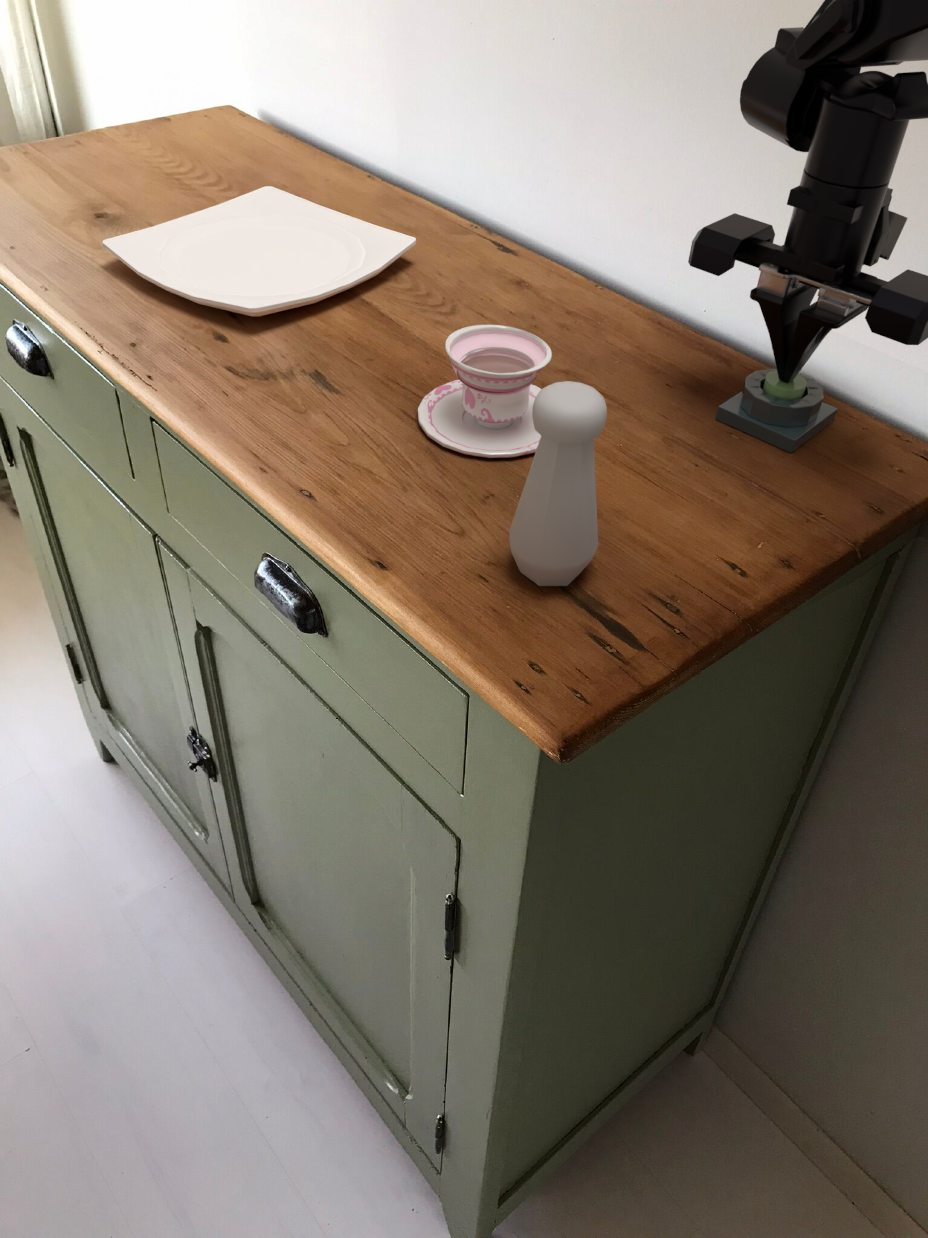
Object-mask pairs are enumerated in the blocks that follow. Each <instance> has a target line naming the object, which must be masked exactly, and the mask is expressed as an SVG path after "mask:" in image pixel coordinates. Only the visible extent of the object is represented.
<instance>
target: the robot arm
mask: <svg viewBox="0 0 928 1238" xmlns="http://www.w3.org/2000/svg"><path fill="white" fill-rule="evenodd" d="M919 61H928V0H823V2H822V3H821V5H820V6H819V8H818V9H817V10H816V11H815V13H814V14H813V16H812V17H811V19H810V20H809V22H808V23H807V24H806V25H805V27H804V26H803V27H801V26H800V27H780V28H779V29H778V30H777V34H776V38H775V42H774V46H773V47H771V48H770V49H769V50H767V51H766V52H764V53H763V54H762V55H761V56H760V57H759V58H758V59H757V60H756V61H755V62H754V64H753V65H752V67H751V69H750V70H749V72H748V74H747V76H746V78H745V79H744V80H743V82H742V85H741V88H740V94H739V105H740V112H741V115H742V117H743V119H744V120H745V122H746V123H747V124H748V125H749V126H751V127H752V128H754V129H756V130H758V131H760V132H761V133H763V134H765V135H767V136H768V137H771V138H772V139H773V140H776V141H777V142H780V143H781V144H783V145H785V146H787V147H789V148H791V149H792V150H794V151H796V152H799V153H807V156H806V160H805V164H804V167H803V171H802V174H801V178H800V181H799V182H800V183H799V185H797V186H795V187H792V188H791V189H790V190H789V194H788V198H787V202H786V205H787V206H790V207H793V208H792V213H791V216H790V221H789V224H788V227H787V231H786V235H785V238H784V243H783V244H782V245H781V244H780V245H779V244H776V243H774V241H775V237H776V233H775V229H774V227H773V225H772V224H769V223H766V222H764V221H760V220H757V219H754V218H751V217H748V216H745V215H741V214H738V213H736V212H735V213H732V214H730V215H728V216H725V217H723V218H721V219H719V220H717V221H714V222H712V223H710V224H708V225H706V226H703V227H702V228H701V229H699V230H698V231H697V233H696V234H695V236H694V237H693V239H692V241H691V246H690V251H689V255H688V261H687V262H688V264H689V266H690V267H691V268H695V269H697V270H700V271H703V272H705V273H708V274H711V275H713V276H717V277H719V276H722V275H724V274H725V273H727V272H729V271H730V270H732V269H733V268H734V267H735V263H736V261H737V262H740V263H743V264H746V265H748V266H751V267H755V268H757V269H758V271H759V277H758V280H757V285H756V287H754V288H752V289H751V290H750V293H749V298H750V300H752V301H754V302H756V303H757V304H758V305H759V308H760V311H761V314H762V317H763V320H764V323H765V327H766V330H767V332H768V335H769V339H770V344H771V349H772V353H773V358H774V363H775V369H777V373H778V377H779V380H781V381H784V382H786V383H789V382H791V381H792V380H794V378H795V377H796V376H797V374H798V373H799V374H800V372H801V371H802V369H803V368H804V366H805V365H806V363H808V361H809V360H810V358H811V357H812V356H813V354H814V353H815V351H816V350H817V349H818V347H819V346H820V344H822V342H823V340H824V339H825V338H826V337H827V336H828V334H829V333H830V332H831V331H832V330H834V329H835V330H836V329H840V328H841V327H843V326H845V324H847V323H849V322H850V321H852V320H853V319H855V318H856V317H858V316H860V315H861V314H863V313H864V312H865V311H866V314H865V317H864V319H865V321H866V323H867V325H868V328H869V330H870V331H871V333H872V334H875V335H878V336H881V337H884V338H886V339H890V340H892V341H894V342H897V343H900V344H902V345H906V346H919V345H920V344H922V343H924V341H926V340H927V339H928V275H926V274H923V273H921V272H917V271H914V270H911V269H909V268H908V269H906V270H904V271H903V272H902V273H901V272H900V274H898V275H896V276H895V277H893V278H892V279H889V281H887V280H884V279H881V278H878V277H877V276H875V275H872V274H869V273H866V272H863V271H862V269H863V266H867V267H872V266H874V265H876V264H877V263H878V262H879V259H880V258H881V259H883V260H885V261H889V260H890V258H891V255H892V253H893V251H894V249H895V247H896V244H897V243H898V240H899V238H900V236H901V233H902V232H903V230H904V227H905V225H906V223H907V221H908V219H909V218H908V217H906V216H904V215H901V214H899V213H897V212H895V211H892V210H890V209H889V208H890V205H891V201H892V198H893V196H892V194H893V191H894V189H893V188H890V187H889V185H890V182H891V179H892V177H893V172H894V170H895V167H896V163H897V160H898V157H899V154H900V150H901V147H902V144H903V142H904V140H905V139H904V138H905V136H906V132H907V130H908V126H909V124H910V120H911V121H913V120H923V119H928V77H927V72H925V71H923V70H922V71H909V72H907V71H905V72H898V73H896V74H894V75H890V74H888V73H885V72H883V71H879V70H867V71H862V72H861V70H862V68H870V67H887V66H888V67H889V66H899V65H900V64H902V63H904V62H919ZM816 294H817V300H816V301H815V302H813V299H814V297H815V295H816ZM812 302H813V303H812Z"/></svg>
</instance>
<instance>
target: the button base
mask: <svg viewBox="0 0 928 1238" xmlns="http://www.w3.org/2000/svg"><path fill="white" fill-rule="evenodd" d="M776 370H777V368H768V369H760V370H755V371H753V372H752V373H750V374H749V375H747V376H746V377H745V378H744V382H743V386H742V391H740V392H738V393H737V394H735V395H734V396H732V397H731V398H729V399H728V400H725V402H723V403H721V404H720V405H718V406H717V411H716V414H715V420H717V421H718V422H721V423H723V424H725V425H728V426H730V427H732V428H734V429H735V430H739V431H741V432H743V433H745V434H747V435H749V436H752V437H754V438H756V439H759V440H761V441H763V442H765V443H768V444H769V445H772V446H774V447H776V448H778V449H781V450H782V451H785V452H787V453H789V454H792V453H793V452H795V451H796V450H797V449H799V448H801V446H803V445H804V444H806V443H807V442H808V441H809V440H810V439H812V438H813V437H815V436H816V435H817V434H819V433H820V432H821V431H823V430H824V429H825V428H826V427H828V426H830V425H831V424H832V423H833V422H834V421H835V418H836V415H837V413H838V410H839V409H838V407H835V406H833V405H830V404H829V403H826V402H823V401H824V388H823V387H822V386H821V385H820V384H818V382H816V381H815V380H814V379H813V378H811V377H809V376H807V375H804V374H802V373H800V372H799V373H798V374H799V375H801V376H802V377H803V378H804V379H805V380H806V382H807V385H806V388H805V392H804V395H803V398H802V399H796V400H786V399H779V398H776V397H774V396H771V395H769V394H766V393H765V392H764V391H763V390H762V389H763V385H764V381H765V378H766V375H767V374H768V373H769V372H772V371H776Z"/></svg>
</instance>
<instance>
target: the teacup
mask: <svg viewBox="0 0 928 1238" xmlns="http://www.w3.org/2000/svg"><path fill="white" fill-rule="evenodd" d="M444 343H445V344H444V348H445V351H446V353H447V357H448V360H449V362H450V364H451V367H452V369H453V371H454V373H455V375H456V377H457V378H458V379H456V380H452V381H449V382H447V383H444V384H441V385H439V386H437V387H435V388H434V389H432V390H431V391H430V392H428V393H427V394H426V395H425V396H423V398H422V400H421V402H420V404H419V406H418V408H417V418H418V419H417V420H418V425H419V427H421V429H422V430H423V432H424V433H425V434H426V436H427V437H428V438H429V439H430V440H433V441H434V442H436V443H437V444H439V445H440V446H441V447H443V448H446V449H449V450H451V451H455V452H456V453H457V452H458V453H460V454H463V455H468V456H469V455H470V456H474V457H482V458H488V459H492V458H493V459H494V458H497V459H498V458H515V457H520V456H525V455H530V454H535V453H536V450H537V447H538V444H539V441H540V438H541V435H540V434H539V433H538V432H537V431H536V430H535V428H534V424H533V417H532V410H533V404H534V400H535V397H536V396H537V394H538V393H539V392H540V390H542V389H543V388H540V387H539V386H537V385H536V384H535V385H534V384H533V383H534V382H535V380H536V379H537V376H538V374H540V373H541V372H542V371H543V369H544V368H545V367H546V366H548V364H549V363H550V362H551V360H552V358H553V357H552V356H553V352H552V349H551V347H550V345H549V344H548V343H547V342H546V341H544V339H542V338H541V337H539V336H537V335H535V334H533V333H531V332H530V331H529V332H528V331H526V330H523V329H521V328H518V327H513V326H509V325H502V324H475V325H470V326H465V327H462V328H459V329H456V330H455V331H453V332H452V333H450V334H449V336H448V337H446V340H445V342H444Z"/></svg>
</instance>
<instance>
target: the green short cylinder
mask: <svg viewBox="0 0 928 1238" xmlns="http://www.w3.org/2000/svg"><path fill="white" fill-rule="evenodd" d="M799 374H800V373H799ZM799 374H797V376H796V377H795V378H794V380H792V381H791V382H789V383H786V382H784V381H781V380H779V377H778V373H777V370H776V371H772V372H769V373H768V374H767V375H766V378H765V381H764V385H763V389H762V390H763V391H764V392H765V393H766V394H769V395H771V396H774V397H776V398H779V399H786V400H796V399H802V398H803V395H804V392H805V388H806V385H807V382H806V380H805V379H804V378H803V377H802V376H801V375H799Z"/></svg>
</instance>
